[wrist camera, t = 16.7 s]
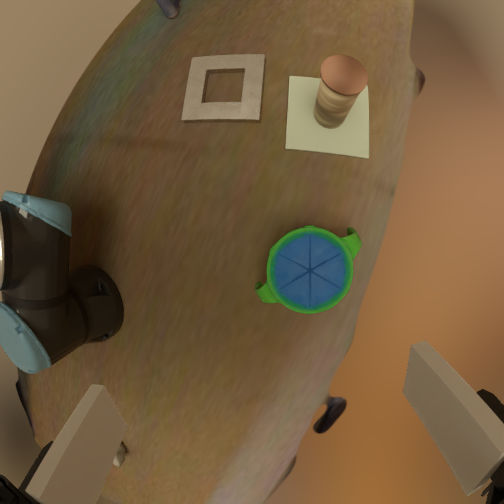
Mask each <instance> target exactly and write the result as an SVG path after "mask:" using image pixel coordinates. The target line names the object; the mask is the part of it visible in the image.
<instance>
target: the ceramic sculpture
mask: <svg viewBox="0 0 504 504" xmlns="http://www.w3.org/2000/svg"><path fill="white" fill-rule="evenodd" d="M125 452H126V449H125V447H124V446H123V444H120V446H119V449H118V451H117V453H116V456H115V458H114V461H113V464H114V465H115V466H118V467H119V468H120V467H121V465H122V464H123V462H124V460H125Z"/></svg>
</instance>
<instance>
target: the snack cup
mask: <svg viewBox="0 0 504 504" xmlns="http://www.w3.org/2000/svg"><path fill="white" fill-rule="evenodd" d="M347 234H348V236H346V237H338V236H336V235H335V234H333V233H331V232H330V231H328V230H325V229H322V228H318V227H315V226H313V225H307V226H304V227H302V228H298V229H295V230H292V231H290V232H288V233H287V234H285V235H284V236H283V237H282V238H280V239H279V240H278V242H277V243H276V244H275V245H273V246H272V247H271V249H270V251H269V257H268V261H267V268H266V273H267V281H266V283H265V284H264V285H263V284H262V283H261V282H257V283H256V285H255V291H256V293H257V295H258V296H259V297H260V299H261V301H262V302H264V303H281V304H283V305H284V306H285V307H287V308H289V309H291V310H293V311H295V312H299V313H306V314H313V313H318V312H322V311H325V310H328V309H330V308H332V307H333V306H335V305H336V304H337V303H338V302H339V301H340V300H341V299H342V298H343V297H344V296H345V295H346V294H347V292H348V291H349V287H350V285H351V282H352V278H353V259H354V257H355V256H356V255H357V253H358V252H359V250H360V248H361V246H362V242H361V239H360V238H359V236H358V234H357V232H356V231H355V230H354V229H353V228H350V227H349V228H347Z"/></svg>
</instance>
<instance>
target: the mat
mask: <svg viewBox="0 0 504 504" xmlns="http://www.w3.org/2000/svg"><path fill="white" fill-rule="evenodd" d="M319 84H320V79H319V78H310V77H298V76H290V78H289V97H288V114H287V131H286V146H285V149H287V150H299V151H309V152H319V153H327V154H335V155H343V156H350V157H357V158H364V159H369V102H368V86H366V87H365V88H364V90H363V91H362V92H360V94H359V96H358V97H357V99H356V101H355V103H354V104H353V106H352V108H351V110H350V111H349V113H348V115H347V117H346V119H345V120H344V122H343V124H342V125H341V126H339V127H338V128H334V129H328V128H324V127H322V126H321V125H319V124H318V123H317V121H316V120H315V118H314V107H315V102H316V98H317V93H318V88H319Z"/></svg>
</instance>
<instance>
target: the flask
mask: <svg viewBox="0 0 504 504" xmlns="http://www.w3.org/2000/svg"><path fill="white" fill-rule="evenodd" d="M180 1H181V0H156V2H157V3H158V4H159V6H160V7H161V9H162V10H163V12H164V13H165V14H166V16H167V17H168V18H169V19H172V18H176V17H177V15H178V14H179V7H180Z"/></svg>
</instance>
